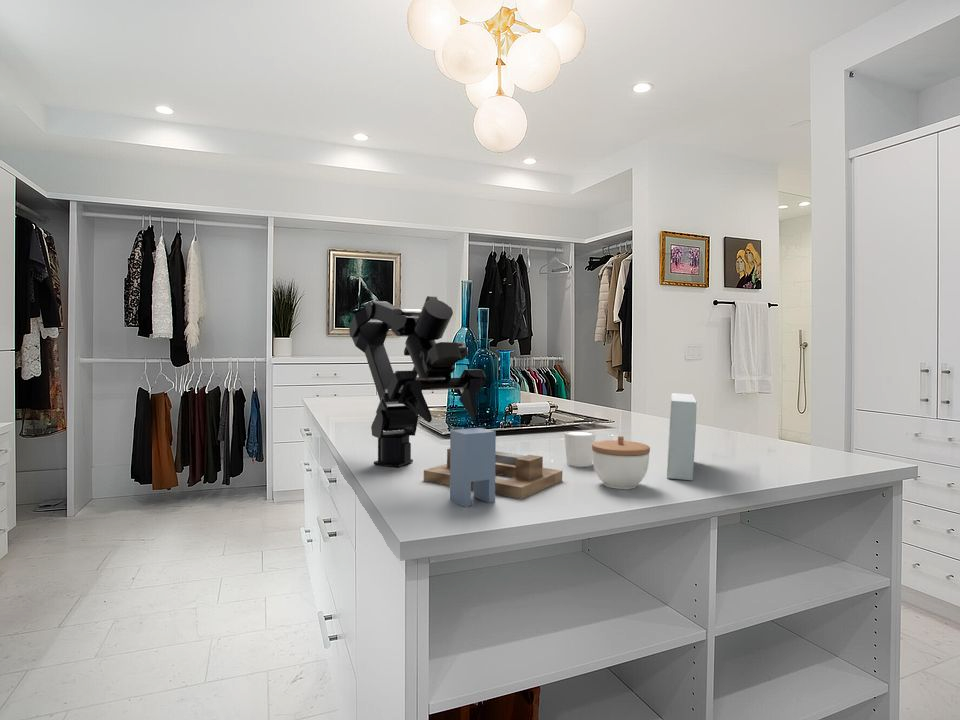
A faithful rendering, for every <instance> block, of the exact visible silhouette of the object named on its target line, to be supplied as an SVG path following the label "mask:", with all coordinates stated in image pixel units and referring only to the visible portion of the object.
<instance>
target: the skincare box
mask: <svg viewBox="0 0 960 720" xmlns="http://www.w3.org/2000/svg"><path fill="white" fill-rule="evenodd" d="M669 413H670V414H669V427H668V440H667V441H668V442H667V467H666V478H667V479H672V480H684V481H693V479H694V478H693V475H694V467H695V466H694V465H695V464H694V463H695V449H696V431H697V429H696V426H697V400H696V397H695V396H694V394H691V393H676V392H673V393H671V399H670V412H669Z"/></svg>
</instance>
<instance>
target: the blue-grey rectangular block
mask: <svg viewBox="0 0 960 720" xmlns="http://www.w3.org/2000/svg"><path fill="white" fill-rule="evenodd" d="M449 432H450V433H449V435H450V436H449V439H450V442H449V443H450V444H449V445H450V446H449V449H450V485H449V500H450V501H452V502H453V503H455V504H458V505H459V506H462V507H463V508H465V507H467V508H468V507H471V505H472V502H471V501H472V489H471V482H474V490H473V496H474V497H476V498H478V499H479V500H481V501H484V502H486V503H489V504H490V503H495V502H496V494H495V478H496V474H495V453H496V452H497V451H496V445H497V442H496V440H497V439H496V438H497V435H496V433H497V432H496V431H495V430H491V429H486V428H483V427H474V428H473V427H472V428H470V427H469V428H463V429H462V428H461V429H460V428H459V429H451V430H450V431H449Z"/></svg>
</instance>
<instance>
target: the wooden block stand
mask: <svg viewBox="0 0 960 720" xmlns="http://www.w3.org/2000/svg"><path fill="white" fill-rule="evenodd" d="M543 462H544V461H543V456H542V455H534V454H527V455H526V454H525V455H523V454H516V453H510V452H504V451H503V452H502V451H496V453H495V475H499V476H506V477H510V478H507V479H503V478H497V477H495V495H498V496H504V497H510V498H516V499H520V500H522V499H524V498H526V497H529V496H531V495H533V494H536V493H538V492H541V491H542V490H545V489H547V488H550V487H551V486H553V485H556V484H558V483H560V482H562V481H563V470H561V469H553V468H547V467H543V466H544V465H543ZM423 481H424V482H430V483H434V484H440V485H446V486H450V448H447V450H446V464H442V465H439V466H438V465H437V466H434V467H430V468H427V469H424V470H423ZM471 491H474V482H471Z"/></svg>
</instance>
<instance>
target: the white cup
mask: <svg viewBox="0 0 960 720" xmlns="http://www.w3.org/2000/svg"><path fill="white" fill-rule="evenodd" d="M595 439H596V433H594V432H591V431H583V430H581V431H580V430H572V431H565V432H564V442H565V443H564V446H565V456H566V457H565V459H566V464H567V466H571V467H577V468H585V467H591V466H593V450H592V444H593V443H594V442H596V440H595Z"/></svg>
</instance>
